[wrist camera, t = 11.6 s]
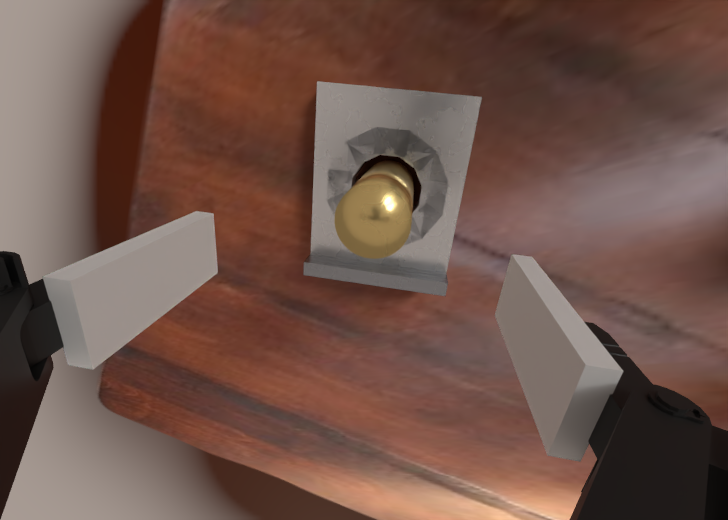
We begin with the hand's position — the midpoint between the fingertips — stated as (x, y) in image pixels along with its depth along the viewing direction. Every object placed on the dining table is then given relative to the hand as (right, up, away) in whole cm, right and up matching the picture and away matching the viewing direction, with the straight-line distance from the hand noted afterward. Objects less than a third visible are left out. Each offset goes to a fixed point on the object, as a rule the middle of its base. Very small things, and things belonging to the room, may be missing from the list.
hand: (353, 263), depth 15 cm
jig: (+2, +6, +16) cm, 17 cm away
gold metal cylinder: (+2, +6, +16) cm, 17 cm away
